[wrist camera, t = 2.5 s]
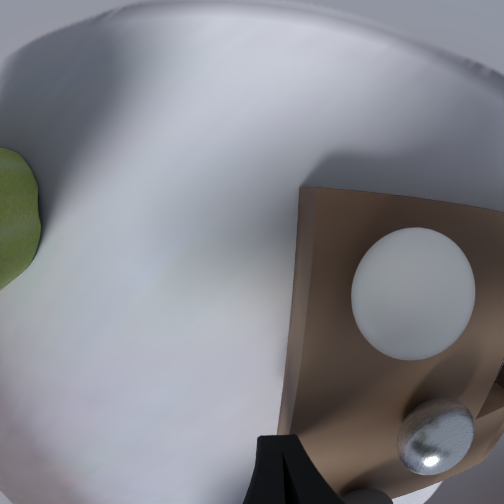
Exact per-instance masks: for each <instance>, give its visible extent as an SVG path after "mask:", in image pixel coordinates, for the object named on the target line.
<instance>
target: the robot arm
mask: <svg viewBox="0 0 504 504" xmlns="http://www.w3.org/2000/svg"><path fill="white" fill-rule="evenodd" d="M243 504H346V503H345V502H344V501H343V500H342V499H341V498H340V497H339V496H338V495H337V494H336V493H335V491H334V490H333V489H332V488H331V487H330V486H329V484H328V483H327V482H326V480H325V479H324V478H323V476H322V475H321V474H320V472H319V471H318V470H317V468H316V467H315V465H314V464H313V462H312V461H311V459H310V457H309V456H308V454H307V453H306V451H305V449H304V447H303V445H302V444H301V442H300V440H299V438H298V436H297V435H296V434H290V435H267V436H259V437H258V438H257V449H256V462H255V468H254V472H253V475H252V479H251V483H250V486H249V488H248V491H247V494H246V497H245V499H244V502H243Z"/></svg>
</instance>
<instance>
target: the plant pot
mask: <svg viewBox="0 0 504 504" xmlns="http://www.w3.org/2000/svg"><path fill="white" fill-rule="evenodd" d="M40 233H41V223H40V219H39V214H38V186H37V183H36V180H35V177H34V175H33V173H32V171H31V169H30V167H29V165H28V164H27V163H26V161H25V160H24V159H23V158H22V157H21V156H20V155H19V154H18V153H16V152H14V151H12V150H9V149H6V148H2V147H0V290H2V289H3V288H4V287H5V286H6V285H8V284H9V283H10V282H11V281H12V280H14V279H15V278H16V277H17V276H19V275H20V274H21V273H22V272H24V271H25V270H26V269H27V267H28V266H29V265H30V263H31V261H32V259H33V257H34V255H35V253H36V250H37V247H38V243H39V239H40Z"/></svg>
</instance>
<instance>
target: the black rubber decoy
mask: <svg viewBox="0 0 504 504" xmlns="http://www.w3.org/2000/svg"><path fill="white" fill-rule="evenodd" d="M341 499H342V500H343V501H344V502H345V503H346V504H393V502H392V500H391V498H390V497H389V496H388V495H387V494H386V493H384V492H383V491H380V490H378V489H373V488H362V489H357V490H354V491H352V492H350V493H348V494H346V495H344V496H343V497H342V498H341Z"/></svg>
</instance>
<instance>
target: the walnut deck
mask: <svg viewBox="0 0 504 504" xmlns="http://www.w3.org/2000/svg"><path fill="white" fill-rule="evenodd" d="M418 227H420V228H426V229H431V230H434V231H437V232H439V233H441V234H443V235H445V236H446V237H448V238H449V239H451V240H452V241H453V242H454V243H455V244H456V245H457V246H458V247H459V248H460V249H461V250H462V252H463V253H464V254H465V256H466V258H467V260H468V262H469V263H470V266H471V269H472V272H473V276H474V281H475V302H474V307H473V311H472V314H471V317H470V320H469V322H468V324H467V326H466V328H465V329H464V331H463V332H462V334H461V335H460V336H459V338H458V339H457V340H456V341H455V342H454V343H453V344H452V345H451V346H449V347H448V348H447V349H445V350H444V351H442V352H441V353H439V354H437V355H435V356H432V357H429V358H426V359H422V360H413V361H408V360H400V359H395V358H392V357H390V356H387V355H385V354H383V353H382V352H380V351H379V350H377V349H376V348H374V347H373V346H372V345H371V344H370V343H369V342H368V341H367V340H366V339H365V337H364V336H363V334H362V333H361V331H360V330H359V328H358V326H357V324H356V320H355V317H354V314H353V310H352V302H351V290H352V283H353V279H354V275H355V272H356V270H357V267H358V265H359V263H360V261H361V260H362V258H363V256H364V255H365V254H366V252H367V251H368V250H369V249H370V248H371V247H372V246H373V245H374V244H375V243H376V242H377V241H378V240H380V239H381V238H383V237H384V236H386V235H388V234H390V233H392V232H394V231H397V230H400V229H405V228H418ZM503 360H504V212H500V211H495V210H490V209H484V208H479V207H473V206H468V205H462V204H456V203H449V202H443V201H436V200H430V199H423V198H415V197H408V196H400V195H391V194H383V193H373V192H364V191H354V190H343V189H331V188H318V187H299V206H298V224H297V241H296V255H295V269H294V282H293V294H292V306H291V317H290V327H289V337H288V347H287V357H286V366H285V375H284V383H283V391H282V400H281V407H280V415H279V423H278V430H277V435H290V434H296V435H297V436H298V438H299V440H300V442H301V444H302V445H303V447H304V449H305V451H306V453H307V454H308V456H309V457H310V459H311V461H312V462H313V464H314V465H315V467H316V468H317V470H318V471H319V472H320V474H321V475H322V476H323V478H324V479H325V480H326V482H327V483H328V484H329V486H330V487H331V488H332V489H333V490H334V491H335V493H336V494H337V495H338V496H339V497H340V498H342V497H343V496H344V495H346V494H348V493H350V492H352V491H354V490H357V489H362V488H373V489H378V490H380V491H383V492H384V493H386V494H387V495H388V496H389V497H390V498H391V499H393V498H396V497H400V496H403V495H406V494H409V493H412V492H414V491H417V490H420V489H423V488H425V487H428V486H430V485H433V484H435V483H438V482H440V481H443V480H445V479H447V478H449V477H452V476H454V475H456V474H458V473H460V472H462V471H465V470H467V469H469V468H471V467H473V466H475V465H476V464H478V463H480V462H482V461H484V460H485V459H486V457H487V456H488V455H489V453H490V452H491V450H492V449H493V448H494V446H495V445H496V443H497V442H498V440H499V439H500V437H501V436H502V434H503V433H504V366H503V369H502V371H501V373H500V376H499V378H498V380H497V382H496V383H494V381H495V379H496V377H497V374H498V372H499V370H500V367H501V365H502V362H503ZM438 397H449V398H453V399H456V400H459V401H460V402H462V403H463V404H464V405H465V406H467V408H468V409H469V410H470V412H471V414H472V416H473V420H474V425H475V431H474V437H473V441H472V444H471V446H470V448H469V450H468V452H467V453H466V455H465V456H464V457H463V458H462V460H461V461H460V462H459V463H457V464H456V465H455V466H454V467H452V468H451V469H449V470H447V471H445V472H442V473H439V474H435V475H421V474H417V473H414V472H412V471H410V470H409V469H408V468H406V467H405V466H404V465H403V463H402V462H401V460H400V458H399V456H398V452H397V445H396V444H397V436H398V432H399V429H400V427H401V424H402V423H403V421H404V420H405V418H406V417H407V415H408V414H409V413H410V412H411V411H412V410H413V409H414V408H416V407H417V406H418V405H420V404H421V403H423V402H425V401H427V400H430V399H433V398H438Z"/></svg>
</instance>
